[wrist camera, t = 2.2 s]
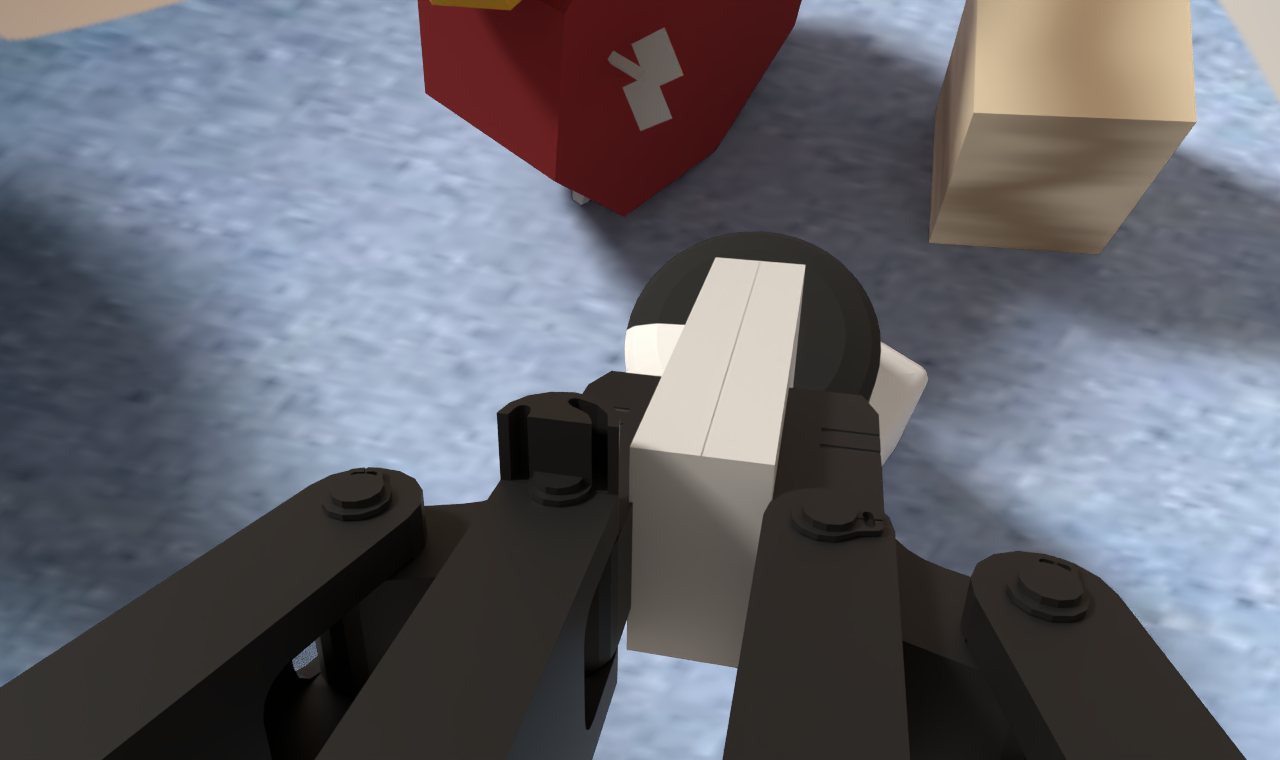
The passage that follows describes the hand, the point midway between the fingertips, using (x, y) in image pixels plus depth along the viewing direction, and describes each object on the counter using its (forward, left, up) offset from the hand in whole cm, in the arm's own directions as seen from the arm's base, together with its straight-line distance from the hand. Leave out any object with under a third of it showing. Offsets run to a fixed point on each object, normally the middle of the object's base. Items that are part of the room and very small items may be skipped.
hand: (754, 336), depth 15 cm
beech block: (+4, +16, -17) cm, 23 cm away
